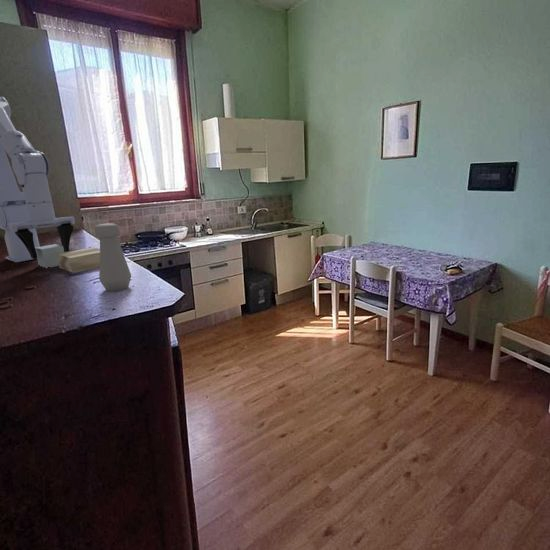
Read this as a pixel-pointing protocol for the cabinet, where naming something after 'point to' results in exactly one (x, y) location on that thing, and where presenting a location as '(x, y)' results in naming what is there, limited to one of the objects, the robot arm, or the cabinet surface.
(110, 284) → the salt shaker
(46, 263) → the blue-grey cube
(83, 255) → the birch block
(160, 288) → the cabinet surface
